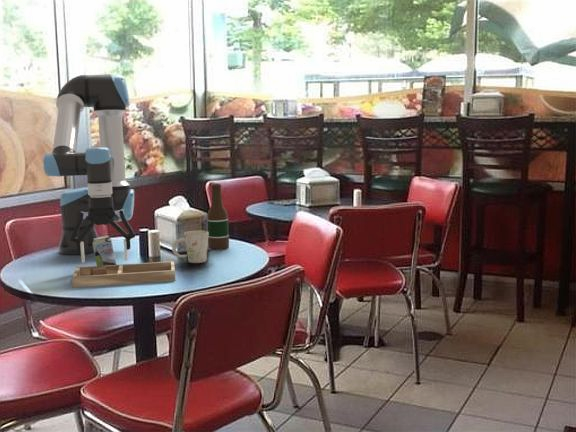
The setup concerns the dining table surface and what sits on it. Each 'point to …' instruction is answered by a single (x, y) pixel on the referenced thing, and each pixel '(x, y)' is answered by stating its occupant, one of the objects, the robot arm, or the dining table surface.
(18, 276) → the dining table surface
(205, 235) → the mug
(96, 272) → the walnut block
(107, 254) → the beverage can
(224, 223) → the beer bottle
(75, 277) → the walled box
